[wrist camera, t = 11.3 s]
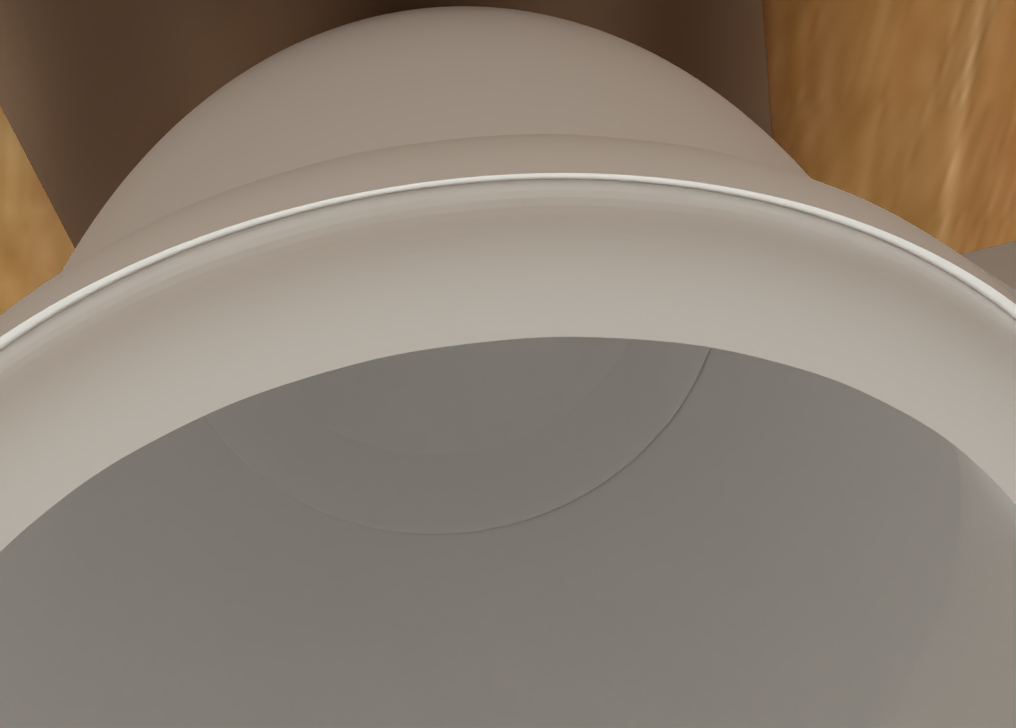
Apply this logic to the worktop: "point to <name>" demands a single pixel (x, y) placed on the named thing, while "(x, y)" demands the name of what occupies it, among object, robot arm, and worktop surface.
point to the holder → (255, 37)
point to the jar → (502, 415)
